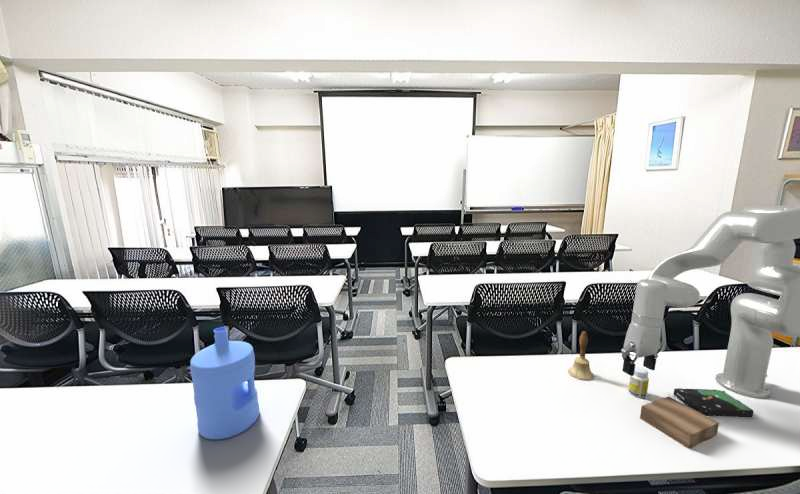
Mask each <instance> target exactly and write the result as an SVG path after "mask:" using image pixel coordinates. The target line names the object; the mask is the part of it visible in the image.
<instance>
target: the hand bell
mask: <svg viewBox="0 0 800 494" xmlns="http://www.w3.org/2000/svg"><path fill="white" fill-rule="evenodd" d="M578 339H579V340H578V341H579V342H578V343H579V347H580V348H579V349H580V351H579V356H578V357H575V359H574V362H573V365H572V366H571V367H569V368H568V369H567V373H568V374H569V375H570V376H571V377H573V378H575V379H577V380H580V381H585V382H586V381H592V380H594V379H595V374H594V373H593V372H592V370H591V367H590V360H588V359H587V358H586V349H587V347H588V343H589V338H588V334H587V331H582V332H581V334H580V336H579V338H578Z"/></svg>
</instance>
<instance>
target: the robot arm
mask: <svg viewBox="0 0 800 494" xmlns="http://www.w3.org/2000/svg"><path fill="white" fill-rule="evenodd" d="M797 239H800V205H783V204H782V205H779V204H752V205H749V206H746V207H744V208H742V210H741V211H739V210H736V211H735V210H733V211H726V212H723V213H721V214H720V215H719V216H717V217H716V218H715V219H714V220H713V222H712V223H711V224H710V225H709V226H708V227H707V229H706V230H705V231H704V232H703V233H702V235H700V236H699V238H698V239H697V240H696V241H695V242H694V244H693V245H692V246H690V247H689V248H687V249H685V250H682V251H680V252H678V253H676V254H674V255H672V256H669V257H668V258H666V259H664V260H662V261H661V262H659V264H658V265H657V266H656V267H655V268H654V269H653V270H652V271H651V273H649V275H648V277H647V278H646V279H640V280H638V281H637V283H636V288H635V289H636V290H635V295H634V301H633V308H632V314H631V322H630V324H629V326H628V329H627V331H626V334H625V339H624V343H623V348H622V349H621V351H620V352H621V357H622V360H623V364H622V372H623V373H625V374H626V375H628V376H630V375H631V376H634V371H635V367H636V363H635V362H636V361H637V360H638V358H643V363H642V366H643V368H645V369H647V370H651V371H655V370H656V369H655V368H656V364H657V358H658V357H659V355H658V354H659V353H660V351H661V347H662V345H663V343H662V341H661V333H662V332H661V331H662V330H661V329H662V325H663V319H664V315H665V309H666V307H675V308H681V309H682V308H684V309H685V308H690V307H694V306H695V305H697V303H698V302H699V301H700V299H701V294H700V291H699V290H698V289H697V287H695V286H694V285H692V284H691V283H687V282H685V281H684V282H683V281H681V280H678V279H675V278H676V277H678V276H680V275H681V274H683V273H685V272H688V271H691V270H696V269H705V268H711V267H716V266H721V265H723V264H724V263H725V262H726V261H727V259H728V258H729V257H730V256H731V255H732V254H733V253H734V252H735V250H736V249H737V248H738V247H739V246H740V245H741V244H742V243H743V242H749V243H753V251H752V254H751V258H750V261H749V264H748V269H747V271H746V275H745V276H746V277H745V281H746V284H747V286H748V287H750V288H752V289H754V290H756V291H757V290H758V291H760V292H764V293H767V294H772V295H775V296H779V297H782V298H783V300H780V299H777V298H774V297H770V296H766V295H761V294H757V293H752V292H746V293H740V294H738V295H736V296H735V297H734V298H733V299H732V301H731V303H730V316H731V326H730V334H729V340H728V345H727V349H726V356H725V359H724V367H723V371H722V372H720V373H717V374H716V375H715V381H716V382H717V383H718V384H719V385H720V386H722V387H724V388H726V389H727V390H729V391H732V392H734V393H737V394H740V395H744V396H747V397H752V398H762V399H766V398H769V396H770V395H771V389H769V387H767V386H766V385H765V383H766V378H767V377H768V369H769V368H768V367H769V364H770V359H771V355H772V354H771V353H772V349H773V346H774V339H773V338H774V337H773V335H772V332H774V333H776V334H780V335H782V336H785V337H789V338H800V266H797V265H794V264H793V262H794V258H795V253H796V248H797V247H796V243H795V241H794V240H797ZM631 356H632V358H631Z"/></svg>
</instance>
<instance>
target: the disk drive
mask: <svg viewBox="0 0 800 494" xmlns="http://www.w3.org/2000/svg"><path fill="white" fill-rule="evenodd" d="M673 395H674V397H676V398H677V399H679V400H680V402H681V403H683V404H685V405H686V406H688V407H690V408H692V409H694V410H696V411H698V412H700V413H702V414H704V415H706V416H708V417H726V418H727V417H728V418H731V417H732V418H751V419H752V418H753V416H754V409H752V408H751V407H749V406H747V405H746V404H745V403H743V402H742V401H740V400H739V399H736V398H735V397H733V396H732V395H730V394H728V393H726V391H725V390H721V389H707V388H706V389H705V388H704V389H701V388H680V387H679V388H678V387H677V388H674V389H673Z"/></svg>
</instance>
